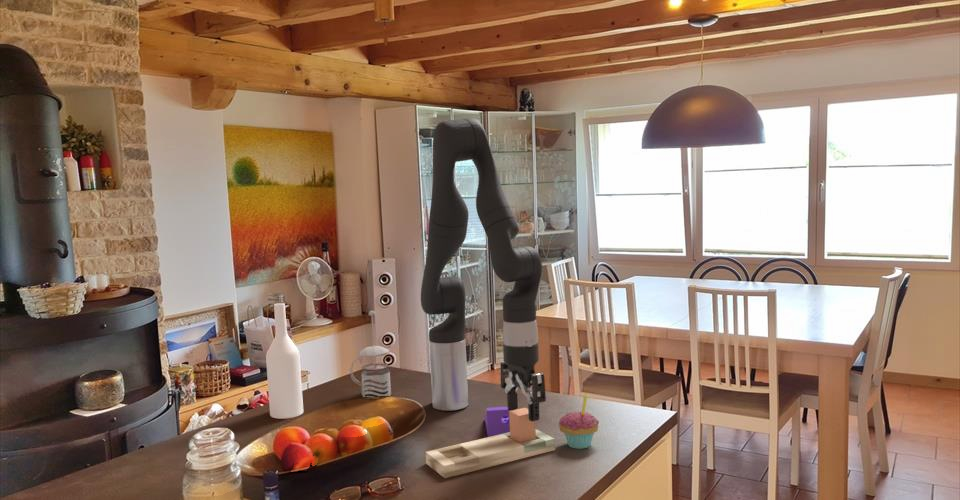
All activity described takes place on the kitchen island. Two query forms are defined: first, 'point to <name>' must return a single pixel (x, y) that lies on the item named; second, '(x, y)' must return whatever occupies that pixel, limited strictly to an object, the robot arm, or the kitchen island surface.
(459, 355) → the robot arm
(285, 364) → the bottle
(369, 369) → the french press
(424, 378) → the kitchen island surface
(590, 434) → the cupcake
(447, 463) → the rail
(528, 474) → the kitchen island surface
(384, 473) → the kitchen island surface
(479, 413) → the kitchen island surface
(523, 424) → the salmon orange rectangular block
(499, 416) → the bracket
